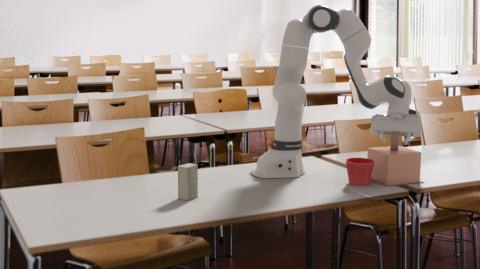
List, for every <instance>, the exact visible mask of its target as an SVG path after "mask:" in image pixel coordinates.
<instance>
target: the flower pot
mask: <svg viewBox="0 0 480 269" xmlns="http://www.w3.org/2000/svg"><path fill="white" fill-rule="evenodd" d="M345 165H346V166H345V167H346V171H347V179H348V184H349V185H352V186H359V187H363V186H369V185H370V183H371V180H370V179H371V175H372V171H373V167H374V160H372V159H368V158H366V157H349V158H347V159H346V160H345Z"/></svg>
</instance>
